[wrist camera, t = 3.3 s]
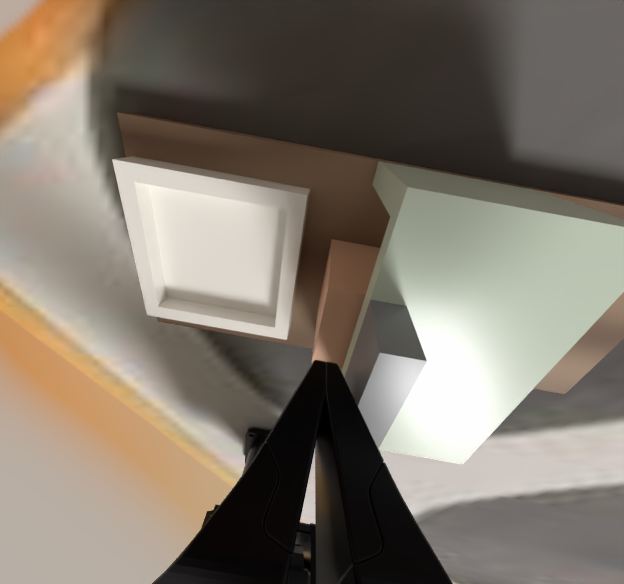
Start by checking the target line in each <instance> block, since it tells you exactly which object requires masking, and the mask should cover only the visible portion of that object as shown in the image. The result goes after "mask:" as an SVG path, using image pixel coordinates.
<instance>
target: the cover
mask: <svg viewBox="0 0 624 584" xmlns="http://www.w3.org/2000/svg"><path fill="white" fill-rule="evenodd" d="M372 185H373V186H374V188H375V190H376V192H377V194H378V195H379V197H380V199H381V201H382V203H383V204H384V206H385V208H386V210H387V211H388V213H389V215H390V219H389V223H388V226H387V229H386V232H385V235H384V238H383V242H382V245H381V248H380V251H379V254H378V257H377V260H376V264H375V267H374V270H373V273H372V276H371V279H370V283H369V286H368V289H367V292H366V295H365V298H364V301H363V305H362V308H361V311H360V314H359V317H358V320H357V324H356V327H355V330H354V333H353V336H352V339H351V342H350V346H349V349H348V352H347V355H346V358H345V361H344V365H343V368H340V370H341V372H342V374H343V376H344V378H345V380H346V382H347V384H348V386H349V389H350V391H351V393H352V395H353V397H354V399H355V401H356V403H357V405H358V407H359V410H360V412H361V414H362V416H363V418H364V420H365V422H366V424H367V426H368V428H369V430H370V433H371V435H372V437H373V439H374V441H375V443H376V445H377V447H378V449H379V450H383V451H389V452H394V453H400V454H406V455H412V456H417V457H423V458H429V459H434V460H440V461H446V462H451V463H457V464H463V463H464V462H465V461H466V460H467V459H468V458H469V457H470V456H471V455H472V454H473V453H474V452H475V450H476V449H477V448H478V447H479V446H480V445H481V444H482V443H483V442H484V441H485V440H486V439H487V438H488V437H489V435H490V434H491V433H492V432H493V431H494V430H495V429H496V428H497V427H498V426H499V425H500V424H501V423H502V422H503V421H504V419H505V418H506V417H507V416H508V415H509V414H510V413H511V412H512V411H513V410H514V409H515V408H516V407H517V406H518V404H519V403H520V402H521V401H522V400H523V399H524V398H525V397H526V396H527V395H528V394H529V393H530V392H531V391H532V390H533V388H534V387H535V386H536V385H537V384H538V383H539V382H540V381H541V380H542V379H543V378H544V377H545V376H546V375H547V373H548V372H549V371H550V370H551V369H552V368H553V367H554V366H555V365H556V364H557V363H558V362H559V361H560V360H561V358H562V357H563V356H564V355H565V354H566V353H567V352H568V351H569V350H570V349H571V348H572V347H573V346H574V345H575V344H576V342H577V341H578V340H579V339H580V338H581V337H582V336H583V335H584V334H585V333H586V332H587V331H588V330H589V329H590V327H591V326H592V325H593V324H594V323H595V322H596V321H597V320H598V319H599V318H600V317H601V316H602V315H603V314H604V312H605V311H606V310H607V309H608V308H609V307H610V306H611V305H612V304H613V303H614V302H615V301H616V300H617V299H618V298H619V296H620V295H621V294H622V293H623V292H624V219H621V218H618V217H615V216H612V215H609V214H606V213H603V212H600V211H597V210H593V209H590V208H587V207H584V206H581V205H578V204H575V203H572V202H569V201H566V200H563V199H560V198H557V197H554V196H551V195H548V194H545V193H542V192H539V191H536V190H533V189H527V188H522V187H517V186H511V185H506V184H500V183H495V182H490V181H484V180H479V179H473V178H468V177H463V176H457V175H452V174H446V173H441V172H436V171H430V170H425V169H419V168H414V167H409V166H403V165H398V164H392V163H387V162H382V161H378V165H377V169H376V173H375V177H374V180H373V184H372Z"/></svg>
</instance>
